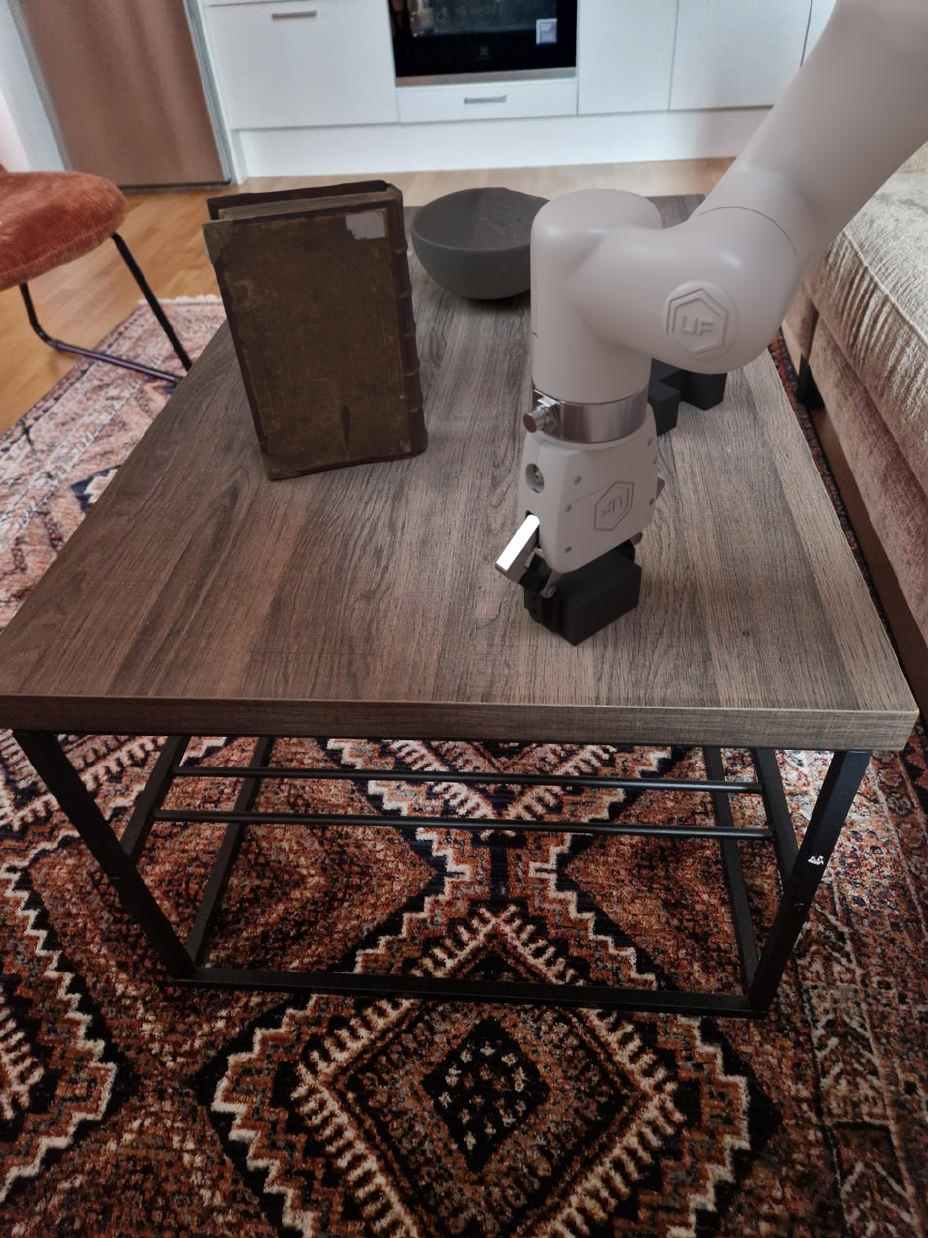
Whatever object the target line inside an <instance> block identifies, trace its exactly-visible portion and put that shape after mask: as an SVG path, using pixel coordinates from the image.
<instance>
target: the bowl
mask: <svg viewBox="0 0 928 1238" xmlns="http://www.w3.org/2000/svg"><path fill="white" fill-rule="evenodd" d="M550 200H551V199H547V198H545V197H542V196H536V195H532V194H528V193H524V192H522V191H517V190H513V189H510V188H507V187H503V186H485V187H473V188H466V189H462V190H458V191H454V192H450V193H447V194H445V195H443V196H440V197H437V198H436V199H433V200H432V201H430V202H428V203H426V204H424V205H423V206H422V207H421V208H419V209H418V210H417V211H416V212H415V213H414V215H413V216H412V218H411V220H410V225H409V230H410V231H409V232H410V239H411V244H412V247H413V250H414V253H415V255H416V257H417V259H418V261H419V263H420V264H421V266H422V267H423V269H424V270H425V272H426V273H427V274H428V275H429V277H430V278H431V279H432V280H433V281H434V282H435V283H436V284H437V285H438V286H440V287H441V288H443V289H444V290H446V291H448V292H449V293H452V294H454V295H457V296H460V297H465V298H469V299H470V298H471V299H477V300H498V299H504V298H510V297H513V296H516V295H519V294H521V293H524V292H526V291H528V290H531V264H530V243H531V229H532V224H533V221H534V218H535V216H536V215H537V213H538V212H539V210H540V209H541V208H542V207H543V206H544V205H545V204H546V203H548V202H549V201H550Z"/></svg>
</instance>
